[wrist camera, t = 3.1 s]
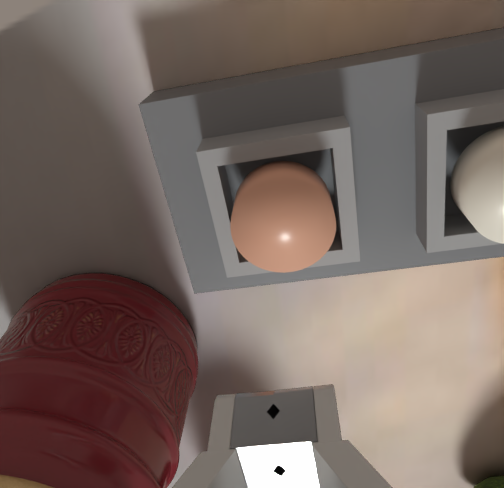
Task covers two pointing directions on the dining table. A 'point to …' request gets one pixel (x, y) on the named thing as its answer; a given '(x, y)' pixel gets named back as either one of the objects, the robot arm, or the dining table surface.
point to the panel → (334, 154)
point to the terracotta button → (283, 217)
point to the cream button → (482, 184)
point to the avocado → (492, 482)
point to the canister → (94, 386)
